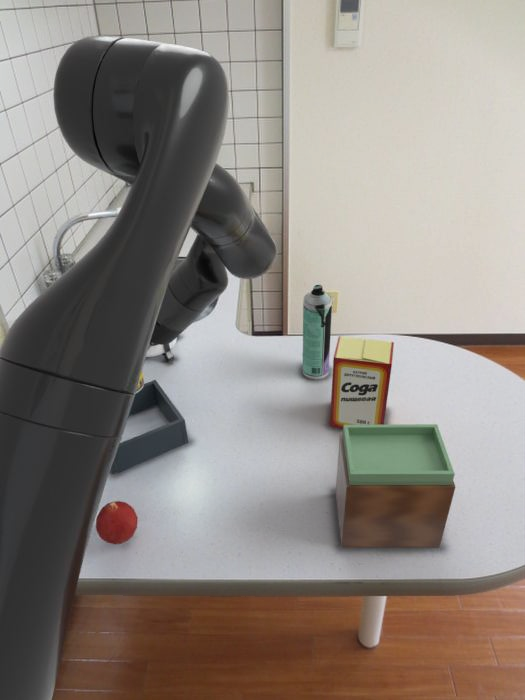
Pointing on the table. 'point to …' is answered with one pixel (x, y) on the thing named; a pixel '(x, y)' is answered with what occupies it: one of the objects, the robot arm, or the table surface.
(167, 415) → the dark grey open box
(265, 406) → the table surface
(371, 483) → the tray
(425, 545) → the riser
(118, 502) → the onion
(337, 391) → the baking soda box
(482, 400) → the table surface
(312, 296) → the spray can
